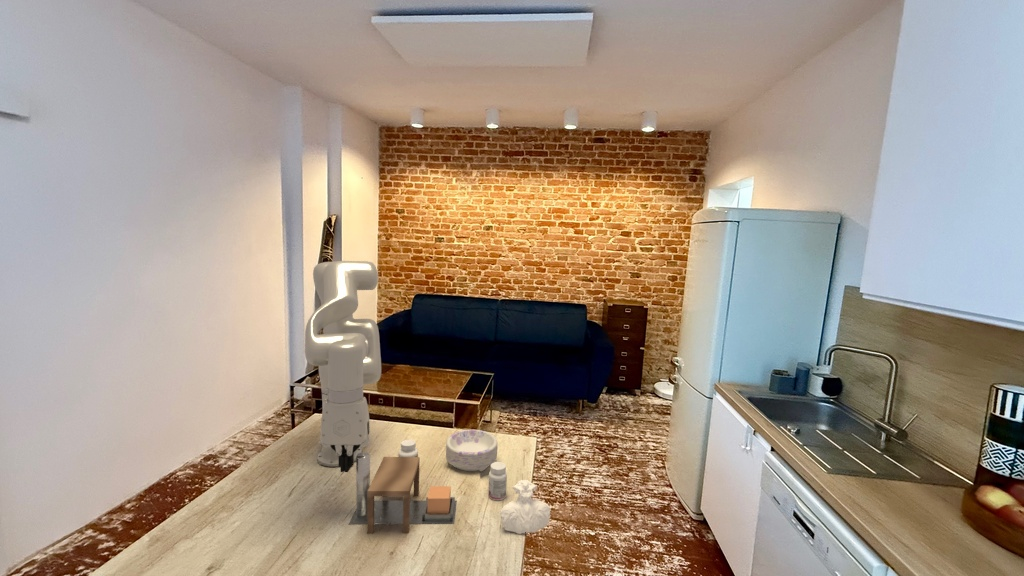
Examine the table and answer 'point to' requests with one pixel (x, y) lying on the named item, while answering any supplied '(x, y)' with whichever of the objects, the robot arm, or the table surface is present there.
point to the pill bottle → (497, 481)
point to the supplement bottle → (408, 449)
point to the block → (439, 500)
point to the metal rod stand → (391, 503)
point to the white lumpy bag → (525, 511)
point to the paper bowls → (471, 450)
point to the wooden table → (394, 485)
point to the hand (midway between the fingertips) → (346, 469)
